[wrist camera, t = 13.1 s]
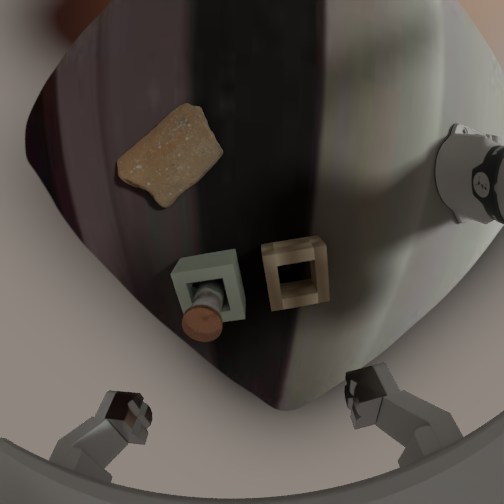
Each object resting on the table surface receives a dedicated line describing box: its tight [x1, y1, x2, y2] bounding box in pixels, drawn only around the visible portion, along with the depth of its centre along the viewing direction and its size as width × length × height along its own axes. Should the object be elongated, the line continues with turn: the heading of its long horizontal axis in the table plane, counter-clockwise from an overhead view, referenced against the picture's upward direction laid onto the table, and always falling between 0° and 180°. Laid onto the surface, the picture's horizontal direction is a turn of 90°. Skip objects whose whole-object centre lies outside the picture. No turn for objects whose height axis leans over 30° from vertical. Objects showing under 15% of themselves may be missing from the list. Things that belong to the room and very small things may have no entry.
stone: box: [117, 103, 223, 208], centre depth 36 cm, size 11×16×3 cm
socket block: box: [171, 249, 246, 322], centre depth 41 cm, size 9×9×6 cm
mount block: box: [261, 235, 330, 311], centre depth 41 cm, size 9×9×5 cm
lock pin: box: [182, 278, 225, 342], centre depth 38 cm, size 5×5×13 cm
